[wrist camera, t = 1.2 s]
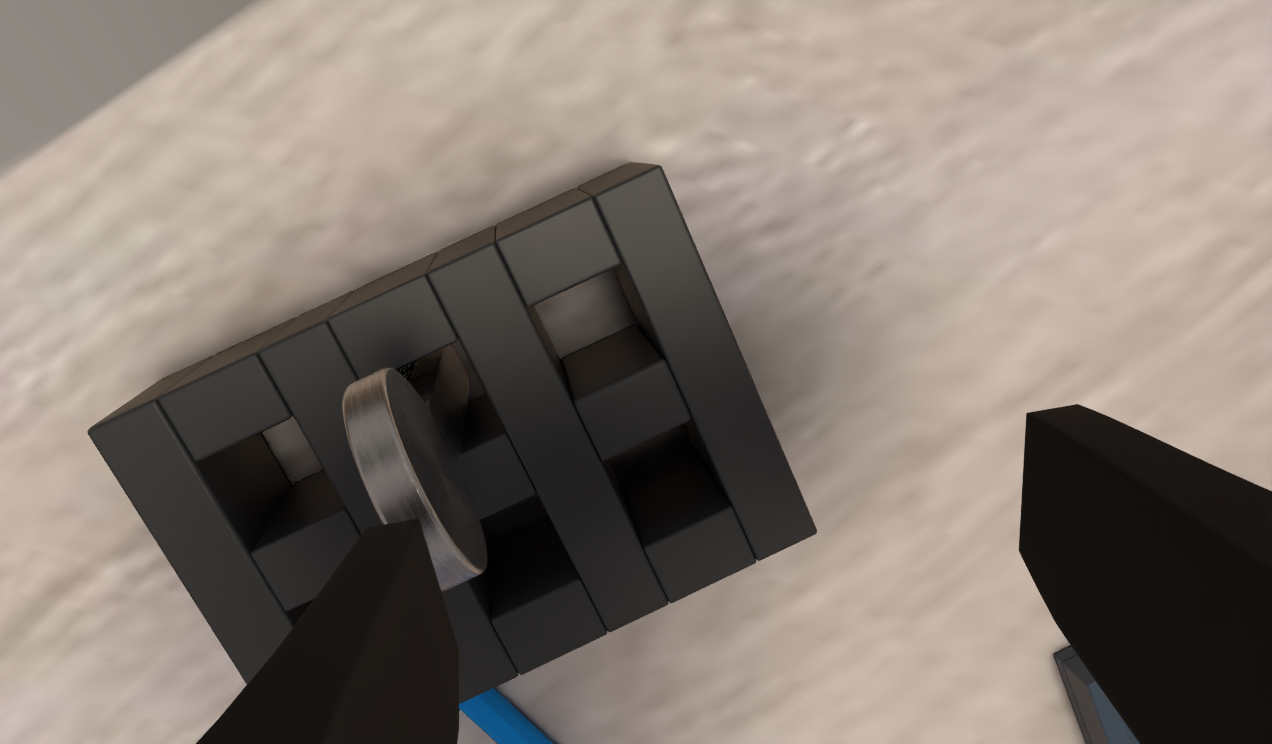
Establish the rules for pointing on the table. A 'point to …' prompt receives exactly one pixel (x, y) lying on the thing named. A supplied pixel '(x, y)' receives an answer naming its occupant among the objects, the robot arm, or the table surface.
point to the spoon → (419, 457)
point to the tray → (1091, 703)
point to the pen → (501, 720)
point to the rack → (480, 439)
